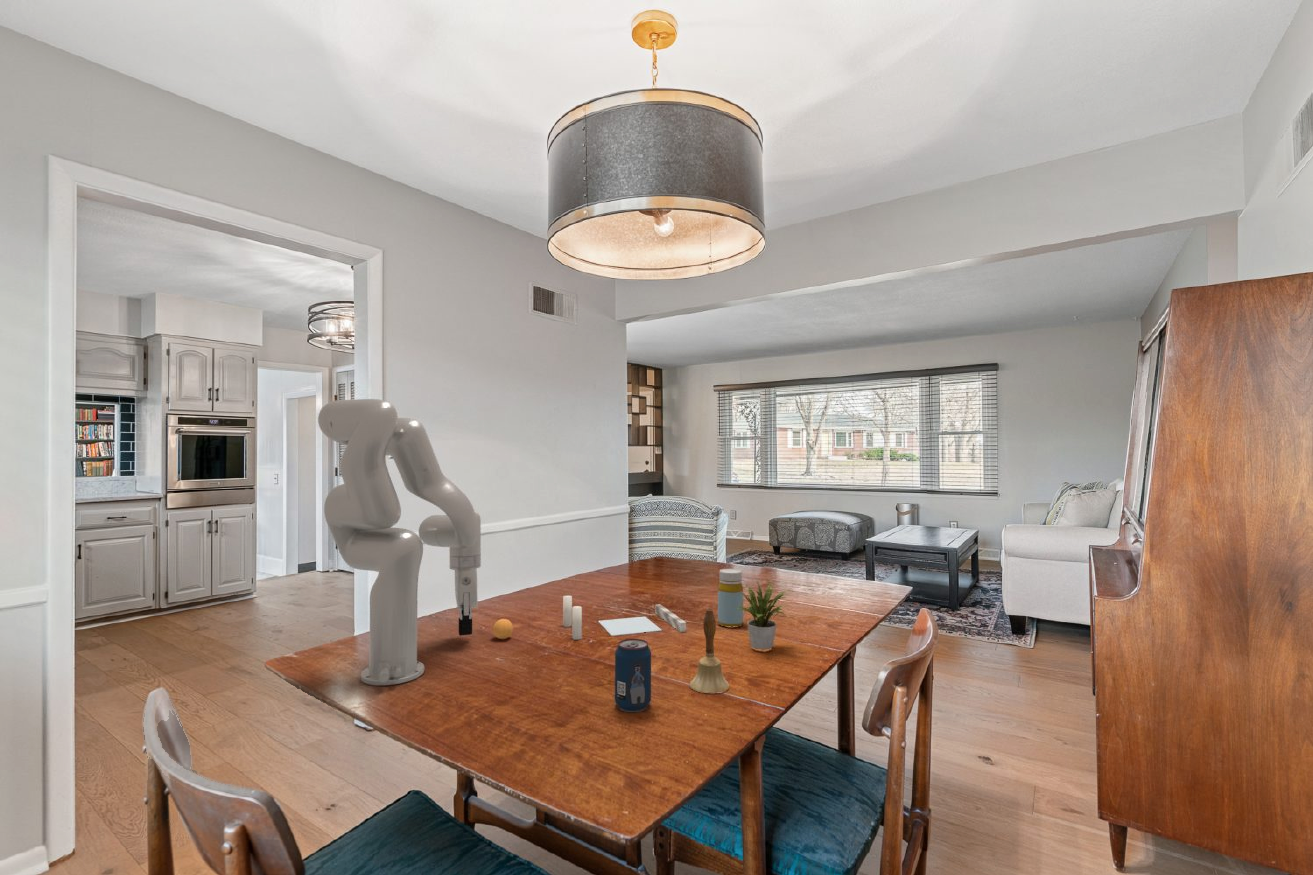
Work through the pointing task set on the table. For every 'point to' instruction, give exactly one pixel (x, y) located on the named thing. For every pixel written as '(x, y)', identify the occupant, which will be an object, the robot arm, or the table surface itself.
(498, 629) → the ball
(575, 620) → the post near
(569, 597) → the post far
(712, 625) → the hand bell
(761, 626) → the house plant
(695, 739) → the table surface
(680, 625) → the wall
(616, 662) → the soda can
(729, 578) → the bottle
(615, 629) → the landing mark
